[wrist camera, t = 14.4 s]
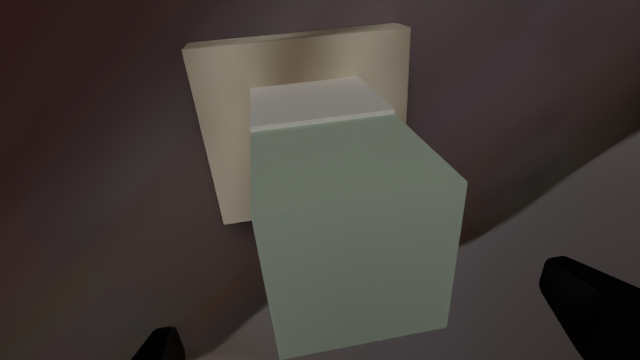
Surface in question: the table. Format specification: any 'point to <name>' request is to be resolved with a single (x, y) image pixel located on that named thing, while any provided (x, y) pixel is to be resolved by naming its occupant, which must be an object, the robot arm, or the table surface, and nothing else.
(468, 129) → the table surface
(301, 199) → the sage block
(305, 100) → the white block
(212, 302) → the table surface
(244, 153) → the slab
